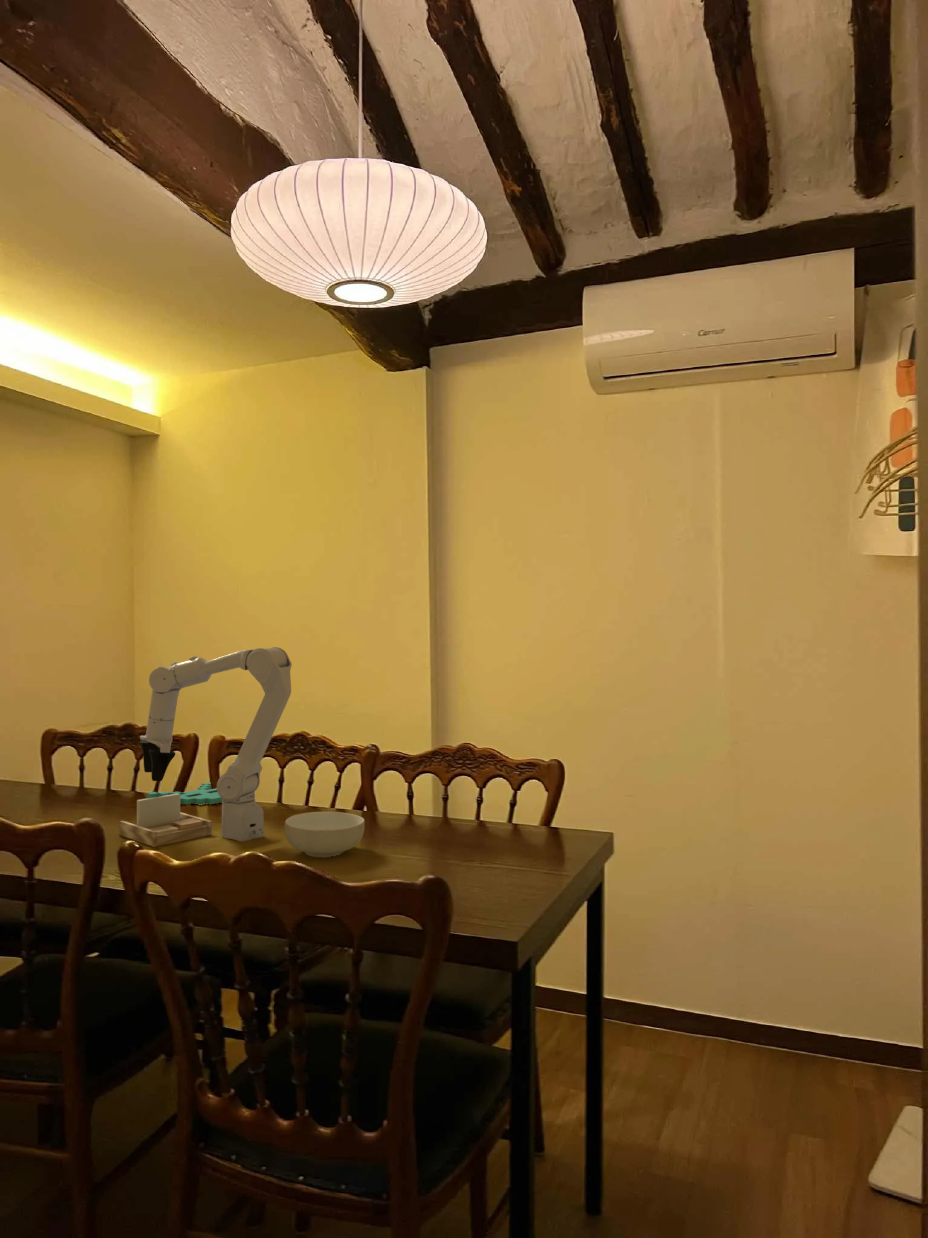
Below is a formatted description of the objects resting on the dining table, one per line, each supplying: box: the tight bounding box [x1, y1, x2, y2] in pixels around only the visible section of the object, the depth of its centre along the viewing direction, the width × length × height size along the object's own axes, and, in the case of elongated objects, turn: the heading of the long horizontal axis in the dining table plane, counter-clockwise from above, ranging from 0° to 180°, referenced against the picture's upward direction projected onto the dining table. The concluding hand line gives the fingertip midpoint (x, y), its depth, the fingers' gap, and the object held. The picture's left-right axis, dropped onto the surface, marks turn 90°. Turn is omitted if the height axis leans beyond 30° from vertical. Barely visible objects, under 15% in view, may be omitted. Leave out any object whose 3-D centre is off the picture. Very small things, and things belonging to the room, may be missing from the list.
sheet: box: [136, 793, 181, 827], centre depth 191 cm, size 1×10×8 cm, turn 139°
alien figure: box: [145, 782, 222, 804], centre depth 233 cm, size 20×2×20 cm
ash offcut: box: [150, 825, 178, 835], centre depth 185 cm, size 4×5×2 cm
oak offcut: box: [172, 818, 202, 831], centre depth 189 cm, size 4×5×3 cm
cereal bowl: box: [284, 811, 366, 858], centre depth 179 cm, size 17×17×7 cm
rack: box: [118, 811, 213, 848], centre depth 189 cm, size 15×14×4 cm
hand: (153, 776), depth 194 cm, fingers open, 7 cm apart
